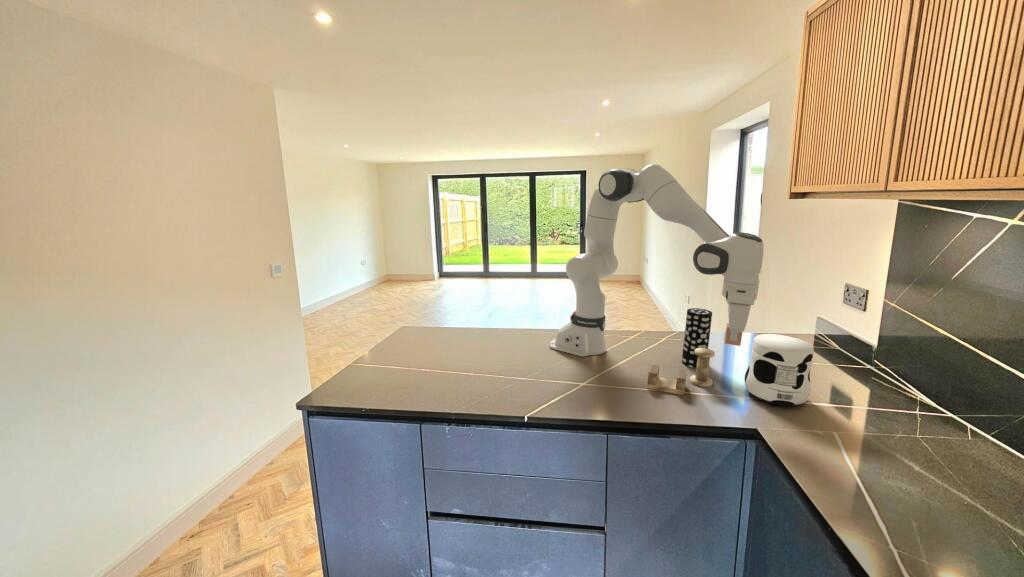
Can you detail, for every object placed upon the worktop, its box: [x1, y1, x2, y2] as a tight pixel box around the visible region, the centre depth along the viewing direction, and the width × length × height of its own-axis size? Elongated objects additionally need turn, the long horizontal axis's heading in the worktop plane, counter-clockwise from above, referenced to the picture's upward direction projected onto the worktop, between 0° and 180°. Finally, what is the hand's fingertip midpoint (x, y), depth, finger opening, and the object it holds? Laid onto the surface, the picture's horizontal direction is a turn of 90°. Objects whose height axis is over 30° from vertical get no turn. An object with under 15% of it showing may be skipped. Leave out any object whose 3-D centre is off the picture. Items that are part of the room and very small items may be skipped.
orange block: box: [724, 322, 743, 347], centre depth 124 cm, size 4×4×5 cm
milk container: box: [744, 333, 815, 407], centre depth 130 cm, size 17×17×18 cm
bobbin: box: [689, 348, 715, 388], centre depth 141 cm, size 7×7×11 cm
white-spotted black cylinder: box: [681, 307, 713, 369], centre depth 155 cm, size 8×8×20 cm
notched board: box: [646, 364, 688, 396], centre depth 138 cm, size 11×7×6 cm, turn 65°
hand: (732, 337), depth 124 cm, fingers closed on orange block, 4 cm apart
